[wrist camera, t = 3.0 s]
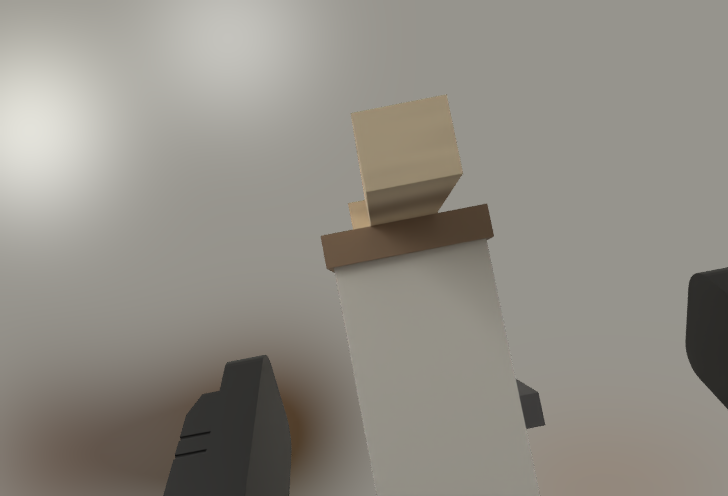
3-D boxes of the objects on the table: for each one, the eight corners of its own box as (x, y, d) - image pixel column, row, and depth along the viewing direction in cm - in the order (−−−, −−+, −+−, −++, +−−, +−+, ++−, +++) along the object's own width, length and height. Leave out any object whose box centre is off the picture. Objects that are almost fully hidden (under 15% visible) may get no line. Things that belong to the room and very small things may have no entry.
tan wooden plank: (359, 251, 41) (352, 214, 41) (433, 237, 41) (426, 200, 41) (333, 198, 19) (318, 119, 19) (495, 166, 19) (478, 88, 19)
